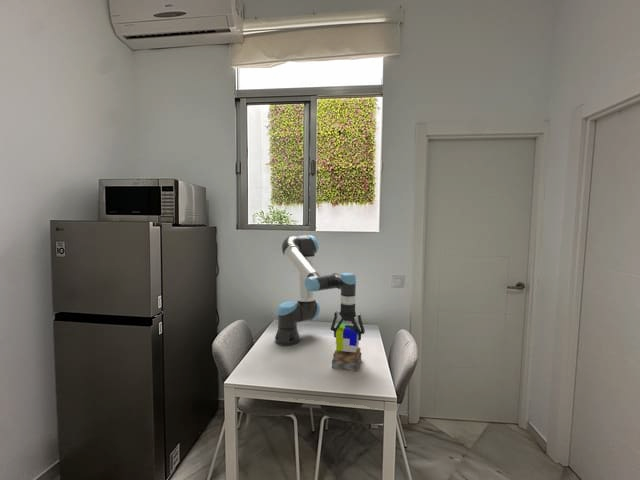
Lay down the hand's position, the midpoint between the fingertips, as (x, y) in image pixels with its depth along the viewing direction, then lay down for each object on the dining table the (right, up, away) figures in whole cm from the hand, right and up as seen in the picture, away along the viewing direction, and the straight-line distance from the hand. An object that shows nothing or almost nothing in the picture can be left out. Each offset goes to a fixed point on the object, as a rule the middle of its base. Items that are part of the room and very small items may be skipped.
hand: (347, 344), depth 160 cm
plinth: (0, -10, +1) cm, 10 cm away
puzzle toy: (0, -2, 0) cm, 2 cm away
